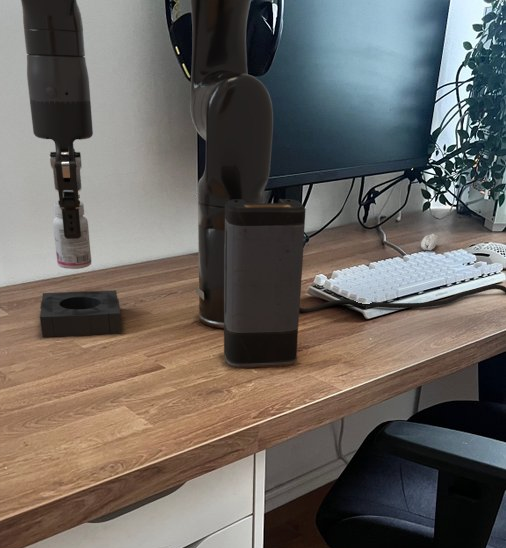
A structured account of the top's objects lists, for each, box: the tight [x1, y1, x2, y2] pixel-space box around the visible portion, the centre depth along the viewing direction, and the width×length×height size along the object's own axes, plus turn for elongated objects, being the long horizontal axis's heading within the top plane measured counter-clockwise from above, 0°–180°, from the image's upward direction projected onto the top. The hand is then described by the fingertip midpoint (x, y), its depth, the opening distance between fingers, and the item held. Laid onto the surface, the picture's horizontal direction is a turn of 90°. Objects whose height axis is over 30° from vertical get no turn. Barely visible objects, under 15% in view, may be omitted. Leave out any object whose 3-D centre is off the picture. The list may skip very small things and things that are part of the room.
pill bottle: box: [52, 201, 92, 270], centre depth 96 cm, size 5×5×8 cm
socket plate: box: [39, 289, 123, 338], centre depth 102 cm, size 11×11×3 cm
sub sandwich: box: [420, 233, 439, 251], centre depth 147 cm, size 3×8×3 cm, turn 157°
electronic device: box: [223, 198, 307, 369], centre depth 87 cm, size 9×6×20 cm, turn 100°
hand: (72, 233), depth 96 cm, fingers closed on pill bottle, 4 cm apart
